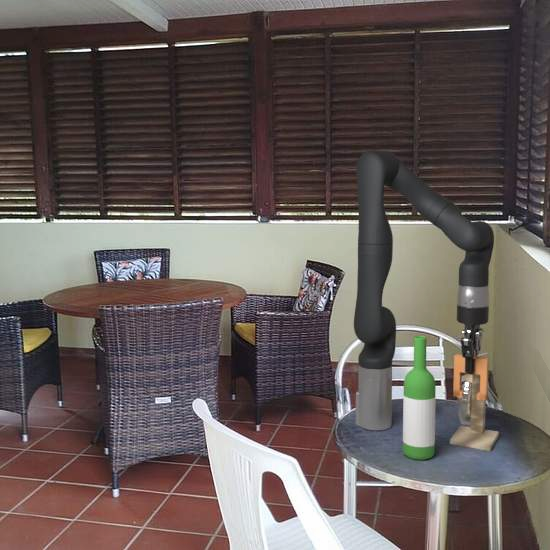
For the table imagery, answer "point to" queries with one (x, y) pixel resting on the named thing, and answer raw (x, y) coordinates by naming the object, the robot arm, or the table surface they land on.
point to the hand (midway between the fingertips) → (471, 371)
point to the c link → (480, 369)
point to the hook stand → (475, 423)
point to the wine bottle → (419, 406)
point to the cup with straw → (466, 400)
